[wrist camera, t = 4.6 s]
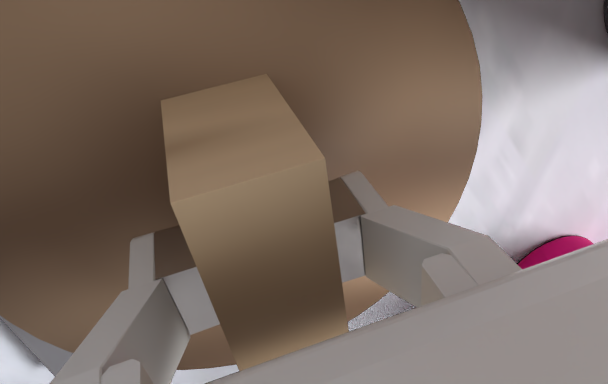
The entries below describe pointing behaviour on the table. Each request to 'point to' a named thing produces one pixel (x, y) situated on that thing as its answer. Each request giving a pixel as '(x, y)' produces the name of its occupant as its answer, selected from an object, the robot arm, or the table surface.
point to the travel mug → (606, 14)
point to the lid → (220, 153)
